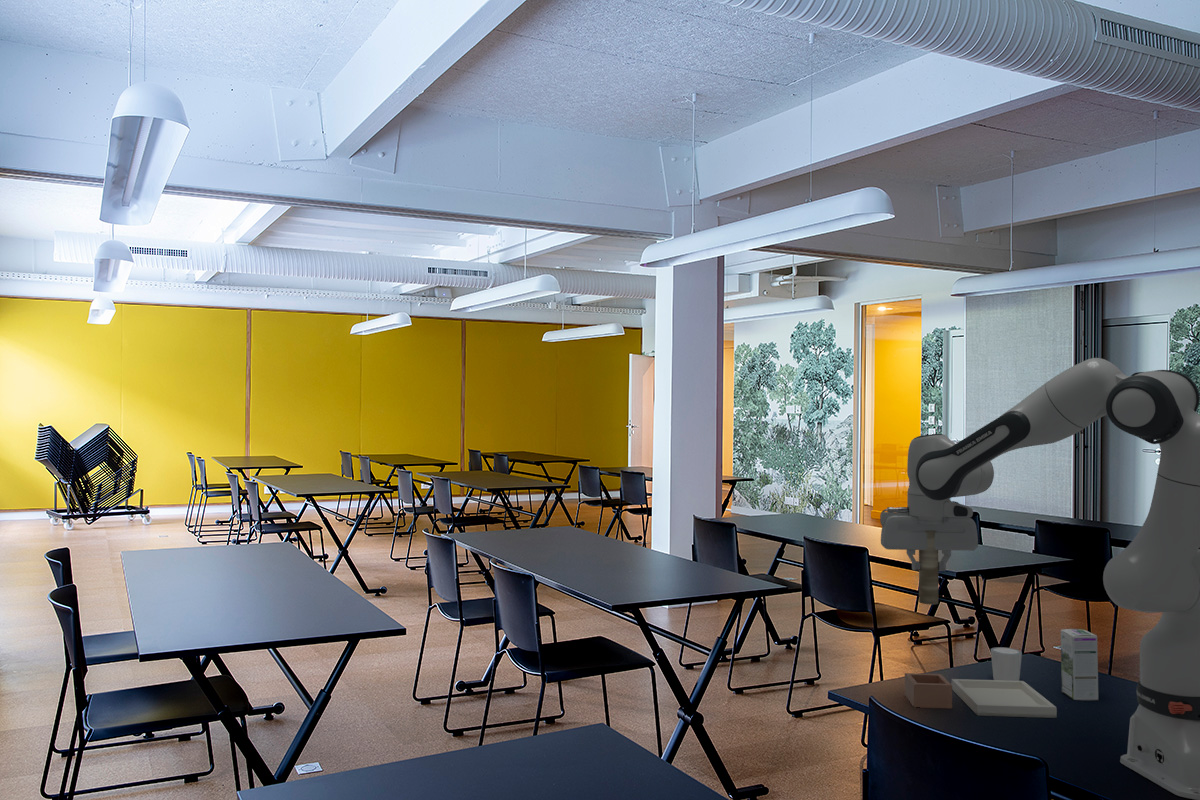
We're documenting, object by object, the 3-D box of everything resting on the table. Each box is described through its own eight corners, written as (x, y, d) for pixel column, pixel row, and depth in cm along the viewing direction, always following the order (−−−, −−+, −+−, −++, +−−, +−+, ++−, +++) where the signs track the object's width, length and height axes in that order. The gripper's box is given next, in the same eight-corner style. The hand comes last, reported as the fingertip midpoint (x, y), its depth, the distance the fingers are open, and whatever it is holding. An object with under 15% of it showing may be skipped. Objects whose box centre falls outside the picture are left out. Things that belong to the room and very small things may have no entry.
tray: (1056, 717, 187) (1056, 707, 187) (977, 715, 188) (977, 705, 188) (1023, 690, 204) (1023, 680, 204) (951, 688, 206) (951, 679, 206)
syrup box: (1099, 700, 198) (1099, 635, 198) (1072, 700, 198) (1072, 634, 198) (1086, 692, 203) (1085, 628, 203) (1059, 692, 203) (1059, 628, 204)
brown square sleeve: (952, 708, 192) (952, 685, 192) (914, 707, 193) (913, 684, 193) (941, 696, 200) (941, 674, 200) (904, 695, 201) (904, 673, 201)
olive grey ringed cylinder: (940, 604, 195) (940, 531, 195) (921, 604, 195) (921, 531, 195) (935, 600, 199) (935, 528, 199) (917, 600, 199) (916, 528, 199)
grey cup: (1025, 685, 208) (1025, 655, 209) (994, 683, 210) (994, 653, 210) (1017, 676, 215) (1017, 647, 215) (987, 674, 217) (987, 645, 217)
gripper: (883, 508, 195) (883, 572, 195) (980, 509, 193) (980, 573, 193) (877, 505, 201) (877, 566, 201) (970, 506, 199) (971, 568, 199)
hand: (928, 570), depth 197 cm, fingers closed on olive grey ringed cylinder, 4 cm apart
